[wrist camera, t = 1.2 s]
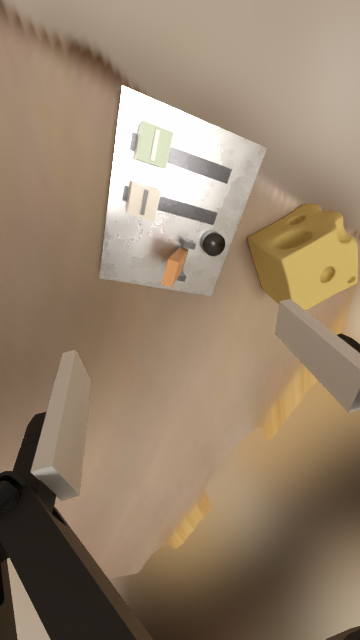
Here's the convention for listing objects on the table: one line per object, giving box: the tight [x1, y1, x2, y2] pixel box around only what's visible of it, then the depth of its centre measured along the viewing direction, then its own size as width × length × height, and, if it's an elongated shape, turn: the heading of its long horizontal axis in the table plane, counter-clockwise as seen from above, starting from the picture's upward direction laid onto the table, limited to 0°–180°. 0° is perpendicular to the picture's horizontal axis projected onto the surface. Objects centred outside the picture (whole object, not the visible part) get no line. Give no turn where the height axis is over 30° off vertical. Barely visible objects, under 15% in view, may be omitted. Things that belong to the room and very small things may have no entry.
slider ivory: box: [126, 180, 161, 221], centre depth 26 cm, size 3×3×4 cm
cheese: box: [248, 204, 358, 311], centre depth 35 cm, size 10×11×10 cm
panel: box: [99, 85, 267, 296], centre depth 30 cm, size 17×20×4 cm
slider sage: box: [133, 120, 174, 169], centre depth 24 cm, size 3×3×4 cm
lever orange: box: [162, 247, 189, 287], centre depth 30 cm, size 1×3×8 cm, turn 163°
